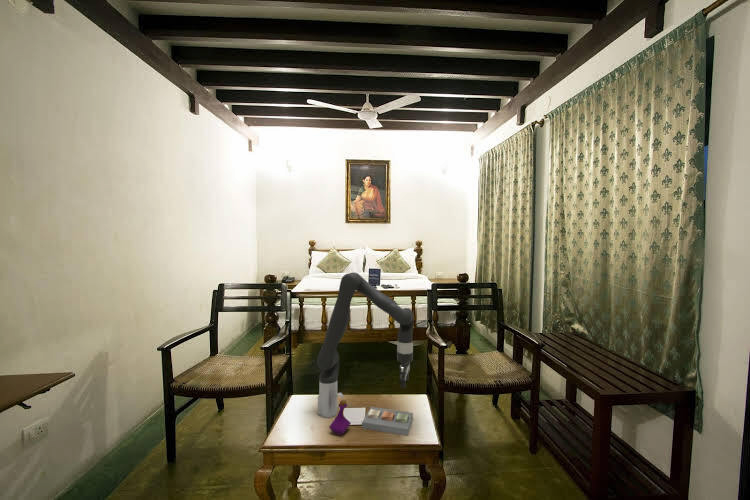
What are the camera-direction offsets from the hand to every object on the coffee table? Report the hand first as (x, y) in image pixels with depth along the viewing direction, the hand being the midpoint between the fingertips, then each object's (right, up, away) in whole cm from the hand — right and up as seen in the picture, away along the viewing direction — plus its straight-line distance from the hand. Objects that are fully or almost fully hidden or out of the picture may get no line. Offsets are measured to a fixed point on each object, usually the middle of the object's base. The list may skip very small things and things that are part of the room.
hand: (404, 383), depth 159 cm
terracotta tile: (-8, -18, +2) cm, 20 cm away
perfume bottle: (-31, -21, -5) cm, 37 cm away
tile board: (-8, -20, +2) cm, 22 cm away
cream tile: (-15, -18, +4) cm, 23 cm away
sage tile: (-1, -18, 0) cm, 18 cm away
